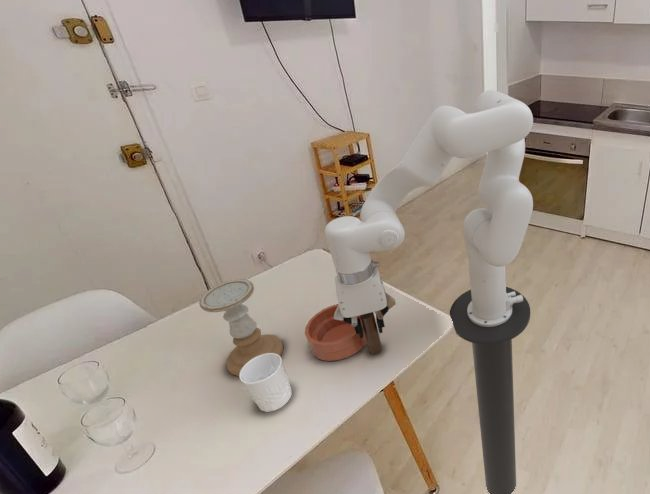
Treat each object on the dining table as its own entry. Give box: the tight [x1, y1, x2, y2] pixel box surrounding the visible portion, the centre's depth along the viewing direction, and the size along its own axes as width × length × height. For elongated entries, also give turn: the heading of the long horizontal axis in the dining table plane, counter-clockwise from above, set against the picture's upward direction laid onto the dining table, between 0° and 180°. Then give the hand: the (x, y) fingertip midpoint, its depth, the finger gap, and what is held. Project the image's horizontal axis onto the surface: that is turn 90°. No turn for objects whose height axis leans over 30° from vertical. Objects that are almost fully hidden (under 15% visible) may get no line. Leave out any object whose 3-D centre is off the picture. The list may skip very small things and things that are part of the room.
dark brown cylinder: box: [360, 312, 383, 356], centre depth 98 cm, size 3×3×12 cm
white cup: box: [238, 353, 293, 413], centre depth 88 cm, size 8×8×10 cm
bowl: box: [304, 303, 368, 362], centre depth 103 cm, size 15×15×6 cm
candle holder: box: [199, 278, 284, 377], centre depth 96 cm, size 12×12×20 cm
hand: (371, 330), depth 98 cm, fingers open, 3 cm apart
